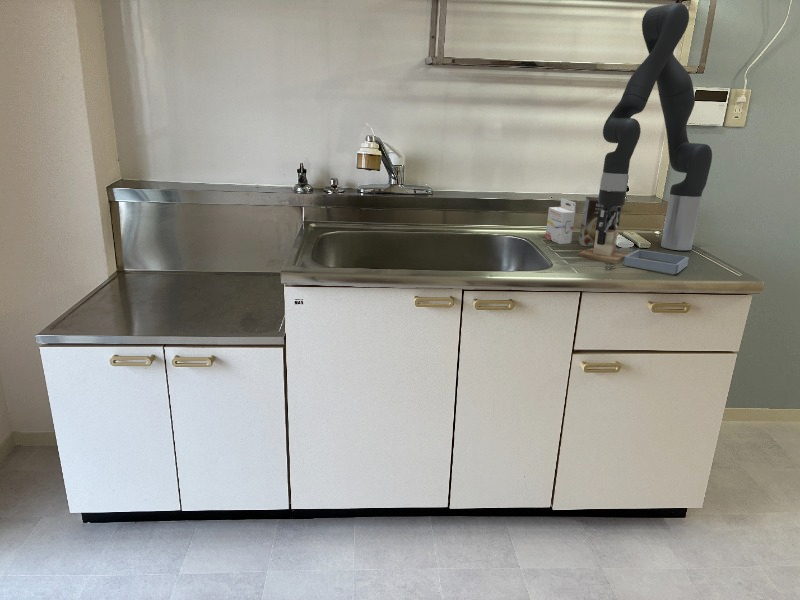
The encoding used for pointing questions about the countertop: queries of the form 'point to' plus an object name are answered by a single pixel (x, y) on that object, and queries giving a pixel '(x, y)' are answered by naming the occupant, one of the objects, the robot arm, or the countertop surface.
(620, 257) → the board
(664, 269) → the bin
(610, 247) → the block
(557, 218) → the ink cartridge box
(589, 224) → the coffee box
